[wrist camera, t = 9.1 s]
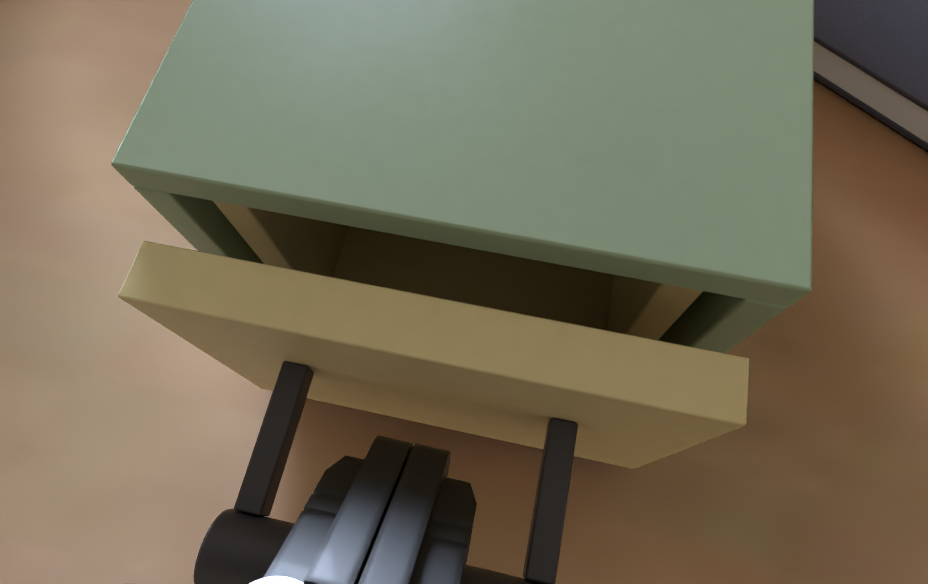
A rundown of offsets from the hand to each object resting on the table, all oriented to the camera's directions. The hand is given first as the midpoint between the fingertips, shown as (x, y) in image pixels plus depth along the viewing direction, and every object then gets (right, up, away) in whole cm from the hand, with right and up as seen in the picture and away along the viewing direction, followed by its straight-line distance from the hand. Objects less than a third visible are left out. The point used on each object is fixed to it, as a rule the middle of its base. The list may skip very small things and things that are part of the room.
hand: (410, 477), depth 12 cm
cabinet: (+2, +8, +10) cm, 13 cm away
